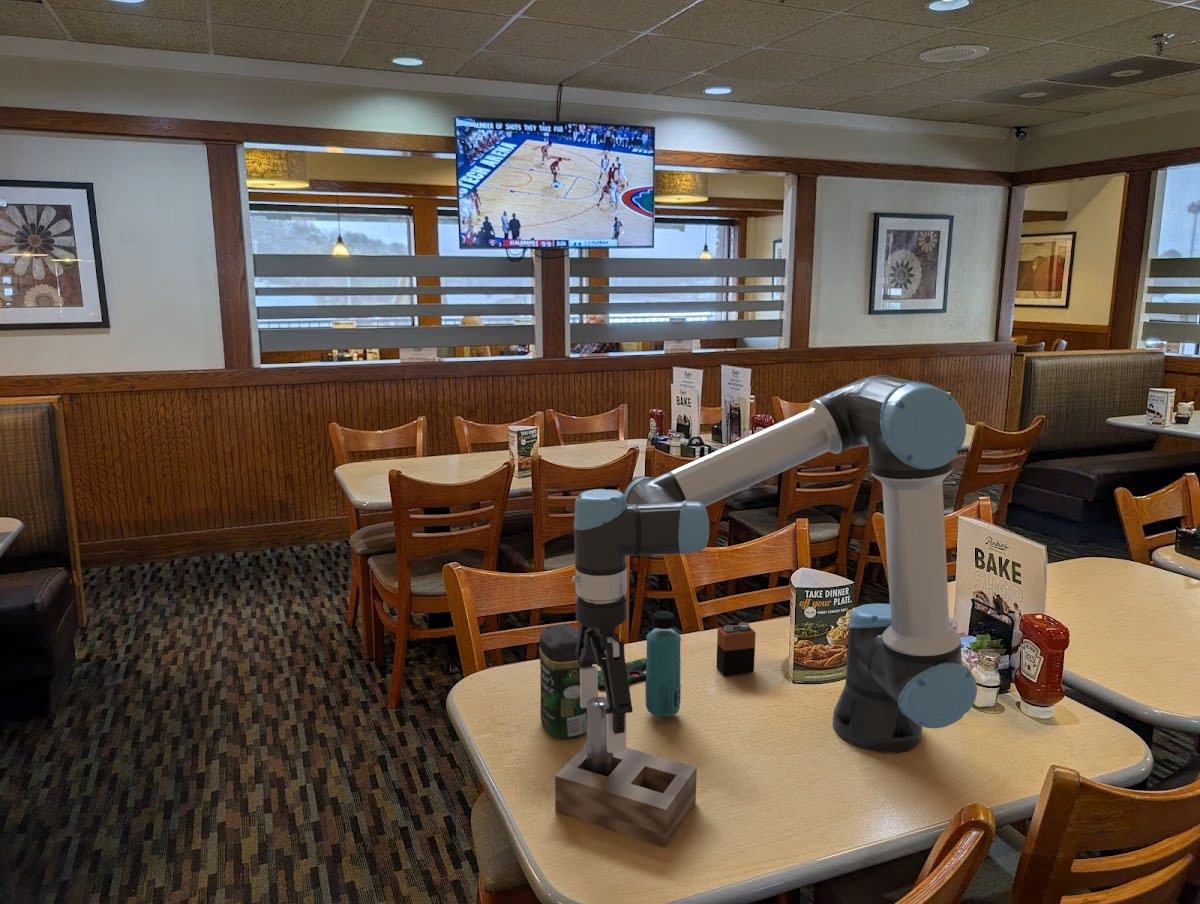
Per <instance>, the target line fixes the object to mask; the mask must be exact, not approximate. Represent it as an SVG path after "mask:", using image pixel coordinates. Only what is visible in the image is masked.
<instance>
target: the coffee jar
mask: <svg viewBox="0 0 1200 904" xmlns="http://www.w3.org/2000/svg"><path fill="white" fill-rule="evenodd" d="M578 633H579V629H577V628H575V626H572V625H569V624H568V623H559V624H553V625H549V626H545V628H544V629H542V631H541V632H540V636H539V646H538V647H539V650H538V651H539V661H540V662H539V663H540V664H539V665H540V667H539V668H540V670H539V671H540V673H539V674H540V675H539V677H540V701H539V702H540V706H539V707H540V709H539V710H540V711H539V712H540V721H541V724H542V726H543V728H544V730H545V731H546V732H547V733H548V734H549V736H551V737H552V738H554V739H561V740H569V739H570V740H571V739H575V738H578V737H581V736H583V735H584V734H587V708H581V706H580V668H582V666H581V667H580V666H579V664H578V660H579V658H576V656H575V651H576V645H577V639H578ZM582 650H583V649H582Z"/></svg>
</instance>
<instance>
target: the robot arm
mask: <svg viewBox="0 0 1200 904" xmlns="http://www.w3.org/2000/svg"><path fill="white" fill-rule="evenodd" d="M966 434H967V422H966V417H965V414H964V412H963V409H962V407H961V406H960V404H959V402H958V401H957V400H956V399H955V398H954V397H953V396H952V395H951V394H950V393H948V392H947V391H945V390H943V389H941V388H939V387H937V386H936V385H933V384H931V383H928V382H923V381H915V380H911V379H910V380H909V379H906V378H901V377H897V376H893V375H888V374H881V375H878V374H877V375H872V376H871V375H870V376H868V377H864V378H860V379H858V380H855V381H854V382H851V383H848V384H845V385H843V386H842V387H839V388H838V389H834V390H833V391H831V392H828V393H826V394H824V395H821V396H819V397H817V398H814V399H813V400H811V401H810V404H809V405H808V409H805V410H804V411H801V412H798V413H797V414H795V415H793V416H790V417H788V418H787V419H784V420H782V421H779V422H777V423H775V424H773V425H770V426H768V427H766V428H764V429H761V430H759V431H758V432H755V433H753V434H750V435H749V436H747V437H744V438H742V439H740V440H737V441H736V442H733V443H731V444H729V445H727V446H724V447H722V448H719V449H718V450H715V451H713V452H711V453H709V454H707V455H704V456H702V457H700V458H698V459H696V460H693V461H691V462H689V463H686V464H684V465H682V466H680V467H677V468H676V469H674V470H671V471H668V472H666V473H664V474H661V475H658V476H657V477H655V478H654V477H652V476H651V477H650V476H643V477H642V476H641V477H639V478H635V480H632V481H631V482H630V483H629V484H628V485H627V487H626V489H625V491H624V493H623V492H621V491H620V490H616V489H605V488H601V489H597V488H596V489H590V490H585V491H583V492H582V493H579V494H578V496H576V498H575V501H574V518H573V519H574V521H573V533H574V534H573V535H574V536H573V539H574V568H575V575H574V576H572V577H571V581H572V583H574V584H575V593H576V597H575V619H576V621H577V623H578V624H579V627H578V628H579V629H578V630H579V633H578V639H577V645H576V651H575V656H576V658H579V660H578V664H579V666H580V667H581V666H582V668H580V706H581V708H587V702H588V700H590V699H591V698H594V697H599V689H598V671H599V670H598V667H599V668H600V670H601V671H602V676H603V681H604V686H605V689H604V691H605V694H606V697H607V700H608V705H609V708H607V709H606V710H605V714H607V751H608V753H611V752H617V751H622V750H626V748H627V714H628V713H632V712H633V705H632V698H631V692H630V685H629V684H628V677H627V670H626V663H627V662H626V659H625V658H626V657H625V643H624V641H623V640H619V637H618V634H617V633H616V629H617V628H618V626H620V625H622V624H623V623H624V622H625V621H626V619H627V597H626V594H627V591H628V581H627V580H628V579H627V577H628V573H627V570H628V569H627V568H628V567H627V557H629V556H630V557H631V556H632V557H633V556H634V557H636V556H637V557H638V556H653V555H654V556H655V555H657V556H659V555H673V554H674V555H679V554H680V555H685V554H691V553H697V552H698V553H699V552H701V551H704V550H705V549H706V547H707V545H708V543H709V538H710V537H709V536H710V519H709V516H708V515H709V514H708V511H707V509H706V507H707V506H709V505H712V504H714V503H716V502H718V501H721V500H722V499H724V498H727V497H730V496H731V495H734V494H736V493H738V492H741V491H743V490H745V489H747V488H749V487H752V486H754V485H756V484H758V483H760V482H763V481H766V480H767V479H770V478H772V477H774V476H776V475H778V474H780V473H782V472H783V473H784V472H785V471H787V470H790V469H792V468H794V467H796V466H798V465H800V464H802V463H805V462H807V461H810V460H813V458H816V457H818V456H821V455H823V454H825V453H828V452H829V453H831V454H835V455H838V454H840V453H843V452H845V451H847V450H849V449H855V448H861V447H868V448H869V449H868V453H869V465H870V474H871V476H873V477H874V478H875V479H876V480H877V481H879V482H880V483H881V486H882V488H881V489H882V504H883V519H884V533H885V549H886V559H887V560H886V562H887V563H886V565H887V577H888V578H887V579H888V580H887V581H888V592H889V593H888V594H889V596H888V597H889V603H868V604H867V603H866V604H862V605H859V606H857V607H855V608H854V609H853V610H852V611H851V612H850V617H849V623H848V626H847V629H848V637H847V653H846V670H845V671H846V673H845V685H844V687H843V689H842V691H841V694H840V696H839V697H838V700H837V703H836V705H835V707H834V709H833V712H832V713H833V714H832V728H833V730H834V731H835V733H836V734H838V735H837V736H839V737H840V738H842V740H844V741H846V742H848V743H849V744H852V745H854V746H856V747H859V748H861V749H865V750H869V751H872V752H878V753H880V752H881V753H902V752H907V751H910V750H912V749H914V748H915V749H916V747H917V746H919V745H920V743H921V742H922V737H923V735H922V733H923V728H925V729H942V728H945V727H949V726H951V725H954V724H955V723H957V722H959V721H960V720H962V719H963V717H964V715H965V714H966V713H968V712H969V711H971V709H972V707H973V706H974V703H975V701H976V698H977V693H978V684H977V680H976V678H975V676H974V675H973V672H972V671H971V670H970V669H969V668H968V667H967V666H966V665H964V664H963V660H962V658H963V657H962V656H963V655H962V639H961V635H960V633H959V631H957V630H955V628H953V627H952V626H951V625H950V610H949V593H948V591H949V590H948V573H947V571H948V569H947V568H948V567H947V549H946V534H945V533H946V529H945V507H944V490H943V487H944V486H943V481H944V480H945V478H947V477H948V476H949V475H950V474H952V472H953V471H954V465H953V464H954V463H953V460H954V459H955V458H956V456H957V455H958V452H959V450H960V449H962V447H963V445H964V443H965V439H966V436H967V435H966ZM582 649H583V650H582Z"/></svg>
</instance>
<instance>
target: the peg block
mask: <svg viewBox="0 0 1200 904" xmlns="http://www.w3.org/2000/svg"><path fill="white" fill-rule="evenodd" d="M697 769H698V768H697V766H694V765H691V764H688V763H687V764H686V763H684V762H680V761H677V760H672V759H669V758H665V757H662V756H660V755H659V756H658V755H654V754H651V753H647V752H644V751H640V750H637V749H633V748H629V747H626V750H622V751H617V752H613V771H612V772H611V774H610V775H609V776H608V777H607V776H603V775H600V774H597V773H593V772H590V771H587V743H586V744H585V745H584V746H583V747H581V749H580V750H579V751H578V752H577V753H575V755H574V756H573V757H572V758H571V759H570V760H569V761H568V762H567V763H566V764H565V765H564V766H563V767H562V768H561V769H560V770H559V771H558V772H556V774H555V775H554V794H555V795H554V797H555V798H554V800H555V801H554V805H555V806H554V807H555V808H554V810H555V811H554V812H556V813H559V814H561V815H565V816H567V817H571V818H573V819H577V820H579V821H583V822H586V823H589V824H591V825H595V826H598V827H601V828H604V829H607V830H610V831H613V832H616V833H619V834H621V835H622V834H623V835H624V836H628V837H631V838H635V839H637V840H640V841H643V842H648V843H649V844H652V845H655V846H659V847H662V848H664V849H665V848H666V847H667V846H668V844H670V842H671V840H672V838H673V837H674V836H675V834H676V832H677V831H678V830H679V829H680V827H681V825H682V823H683V822H684V821H685V819H686V817H687V816H688V815H689V813H690V812H691V811H692V809H693V807H694V806H695V804H696V802H697V801H696V800H697V777H698V776H697V771H698V770H697Z"/></svg>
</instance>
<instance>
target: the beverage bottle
mask: <svg viewBox="0 0 1200 904" xmlns="http://www.w3.org/2000/svg"><path fill="white" fill-rule="evenodd" d="M652 615H653V616H652V621H651V626H652V627H653V629H652V630H651V631H649V633H647V635H646V639H645V640H646V659H647V663H646V667H645V668H646V670H645V672H644V673H645V674H646V681H645V690H644V692H645V696H644V697H645V698H644V699H645V707H646V710H647V712H649V714H651V715H653V716H657V717H671V716H674V715H676V714H677V713H679V712H680V708H681V693H682V692H681V687H682V684H681V676H682V673H681V657H682V656H681V640H682V638H681V635H680V634H679V633H678V632H677V631H676V630H675V629H674V628H675V626H676V620H675V614H674V613H673V612H671V611H667V610H658V611H655V612H654V613H653V614H652Z"/></svg>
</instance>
